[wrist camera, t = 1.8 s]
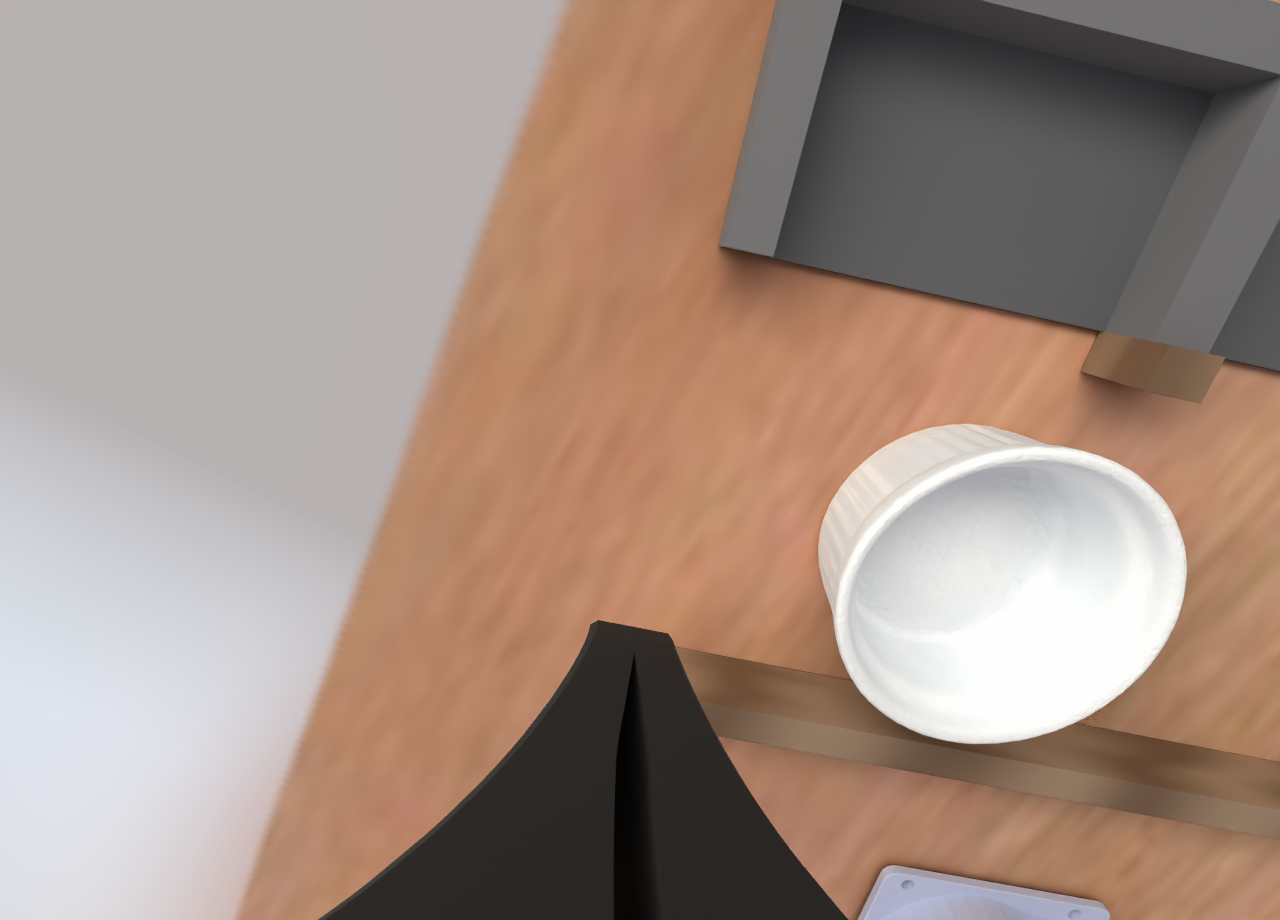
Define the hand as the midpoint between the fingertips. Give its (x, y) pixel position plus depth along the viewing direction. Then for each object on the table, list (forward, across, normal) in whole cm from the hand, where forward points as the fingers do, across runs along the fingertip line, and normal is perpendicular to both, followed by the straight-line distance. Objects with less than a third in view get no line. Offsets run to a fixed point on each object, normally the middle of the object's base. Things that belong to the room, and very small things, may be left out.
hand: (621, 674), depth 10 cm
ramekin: (+10, -10, 0) cm, 14 cm away
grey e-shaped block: (+9, -13, -11) cm, 19 cm away
